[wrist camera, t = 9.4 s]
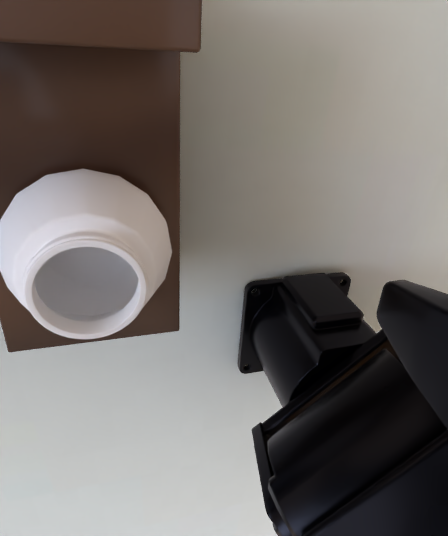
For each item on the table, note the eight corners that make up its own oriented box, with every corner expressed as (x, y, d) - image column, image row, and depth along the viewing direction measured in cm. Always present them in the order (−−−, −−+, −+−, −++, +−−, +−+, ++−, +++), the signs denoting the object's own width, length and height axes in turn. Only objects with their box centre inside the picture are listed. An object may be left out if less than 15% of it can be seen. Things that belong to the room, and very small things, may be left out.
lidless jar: (196, 222, 14) (54, 130, 11) (219, 263, 11) (44, 158, 9) (114, 329, 15) (-31, 268, 12) (118, 388, 12) (-61, 326, 10)
